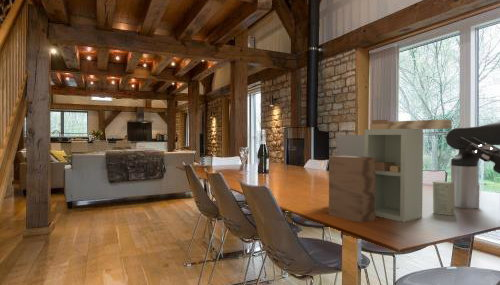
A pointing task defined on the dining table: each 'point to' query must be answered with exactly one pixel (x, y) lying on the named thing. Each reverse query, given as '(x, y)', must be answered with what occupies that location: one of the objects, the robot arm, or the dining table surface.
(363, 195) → the walnut block
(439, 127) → the birch strip
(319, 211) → the dining table surface
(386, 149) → the rack
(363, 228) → the dining table surface
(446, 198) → the skincare box
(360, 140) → the folded grey card
